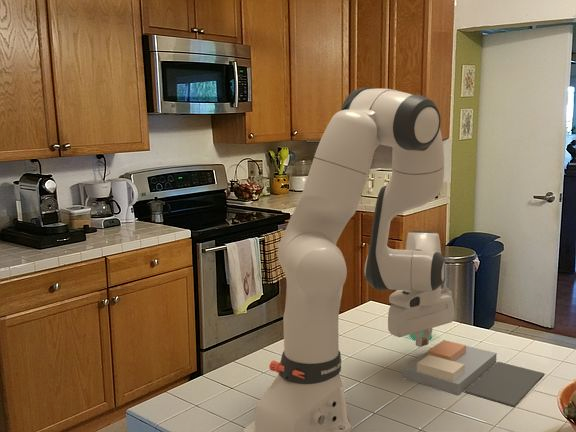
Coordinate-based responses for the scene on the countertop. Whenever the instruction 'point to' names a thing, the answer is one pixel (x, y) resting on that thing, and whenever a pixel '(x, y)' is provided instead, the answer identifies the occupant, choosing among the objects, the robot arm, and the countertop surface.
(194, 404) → the countertop surface
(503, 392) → the mat
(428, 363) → the cream tile
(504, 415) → the countertop surface
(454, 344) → the terracotta tile
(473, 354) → the platform
